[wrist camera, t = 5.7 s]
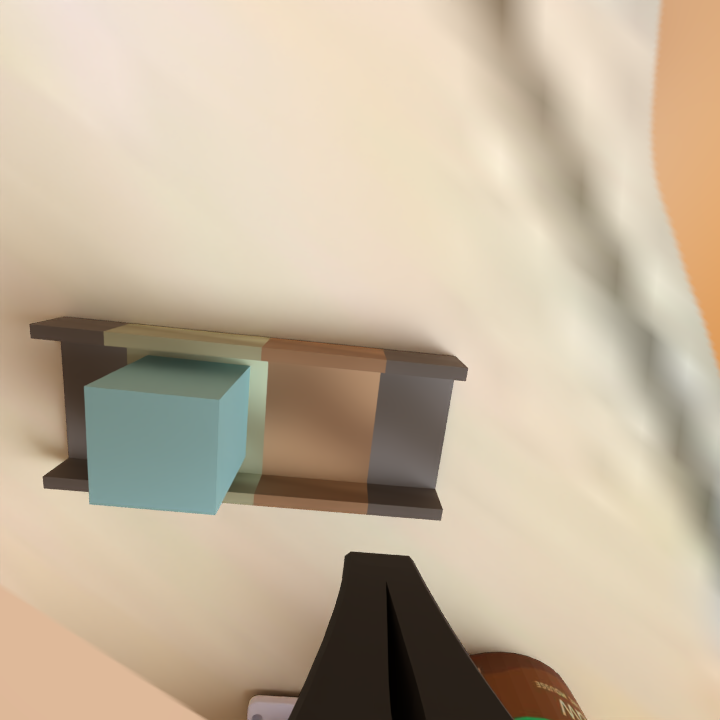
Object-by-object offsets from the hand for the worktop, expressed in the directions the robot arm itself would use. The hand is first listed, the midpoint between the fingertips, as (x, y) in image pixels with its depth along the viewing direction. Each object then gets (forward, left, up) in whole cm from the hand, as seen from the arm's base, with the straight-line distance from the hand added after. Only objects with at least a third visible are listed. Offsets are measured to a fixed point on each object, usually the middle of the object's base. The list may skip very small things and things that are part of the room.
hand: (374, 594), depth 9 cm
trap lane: (0, +4, -9) cm, 10 cm away
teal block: (0, +7, -9) cm, 11 cm away
